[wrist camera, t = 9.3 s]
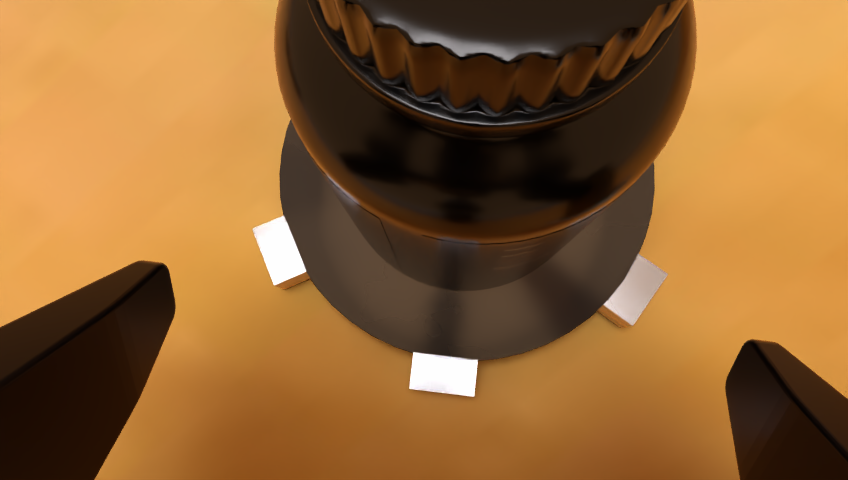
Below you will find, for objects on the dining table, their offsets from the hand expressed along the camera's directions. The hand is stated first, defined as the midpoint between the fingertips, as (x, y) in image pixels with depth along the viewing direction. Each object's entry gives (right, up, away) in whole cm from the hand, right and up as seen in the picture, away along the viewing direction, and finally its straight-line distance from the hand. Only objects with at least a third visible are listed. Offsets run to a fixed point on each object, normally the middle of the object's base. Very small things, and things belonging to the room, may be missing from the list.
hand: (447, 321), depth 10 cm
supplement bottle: (+1, +3, +9) cm, 9 cm away
